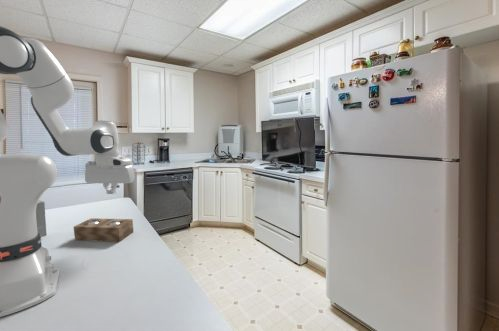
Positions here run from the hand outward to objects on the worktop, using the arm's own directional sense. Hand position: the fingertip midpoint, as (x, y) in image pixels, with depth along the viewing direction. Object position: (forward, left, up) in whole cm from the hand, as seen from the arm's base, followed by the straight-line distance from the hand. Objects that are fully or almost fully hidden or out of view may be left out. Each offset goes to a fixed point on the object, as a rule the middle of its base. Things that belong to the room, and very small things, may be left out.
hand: (111, 193), depth 106 cm
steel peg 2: (0, 0, -19) cm, 19 cm away
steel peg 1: (+8, +6, -19) cm, 21 cm away
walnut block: (+4, +3, -19) cm, 20 cm away
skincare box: (+27, +25, -19) cm, 41 cm away
